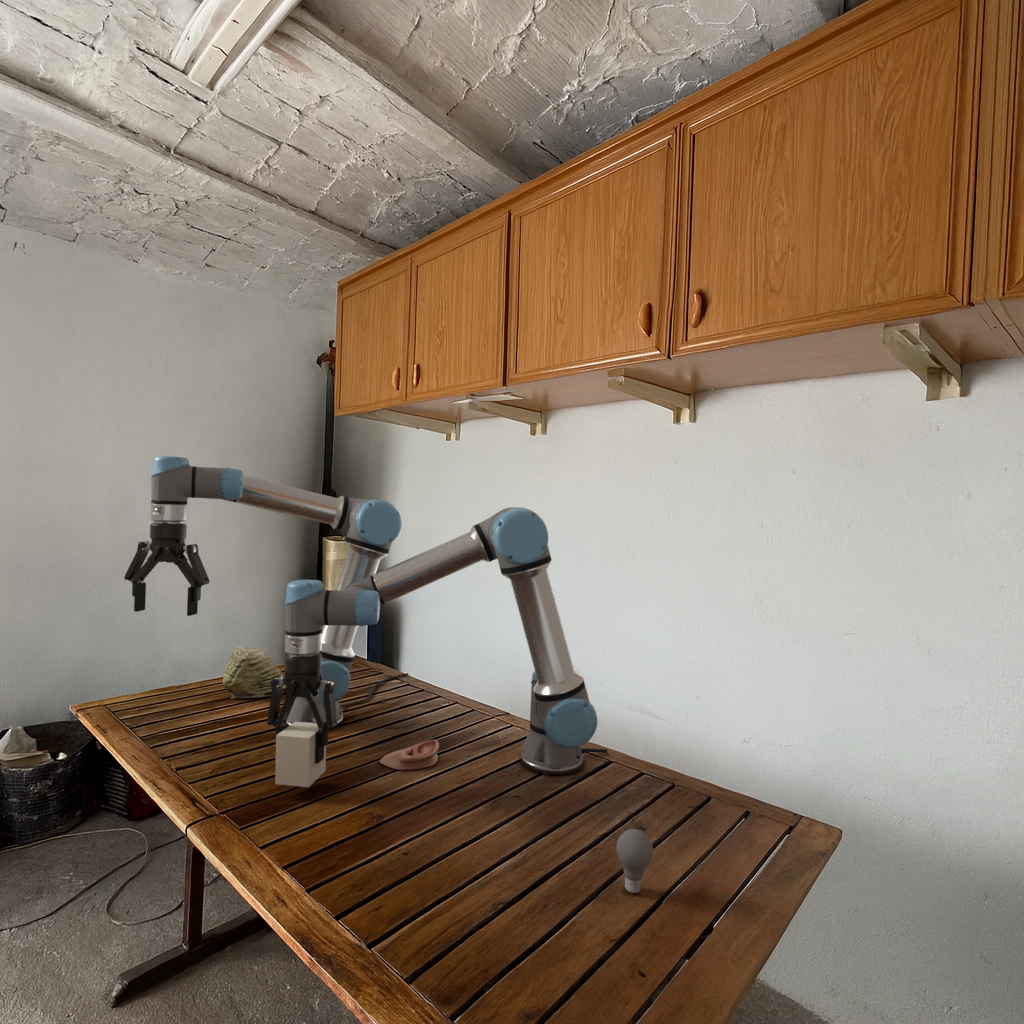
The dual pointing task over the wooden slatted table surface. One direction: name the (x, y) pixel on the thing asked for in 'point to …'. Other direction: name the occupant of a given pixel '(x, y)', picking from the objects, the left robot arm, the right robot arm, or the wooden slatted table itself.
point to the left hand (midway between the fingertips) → (165, 612)
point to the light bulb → (634, 857)
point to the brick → (298, 756)
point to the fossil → (250, 673)
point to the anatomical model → (413, 756)
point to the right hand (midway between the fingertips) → (301, 758)
